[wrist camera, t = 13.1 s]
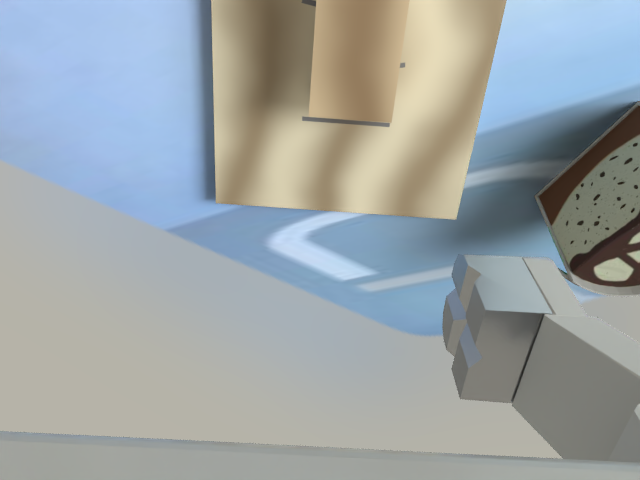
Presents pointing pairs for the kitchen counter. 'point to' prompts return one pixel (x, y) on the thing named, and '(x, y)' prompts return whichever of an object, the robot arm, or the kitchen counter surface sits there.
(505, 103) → the kitchen counter surface
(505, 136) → the kitchen counter surface
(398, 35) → the block
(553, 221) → the food container
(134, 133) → the kitchen counter surface
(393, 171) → the board
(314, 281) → the kitchen counter surface
